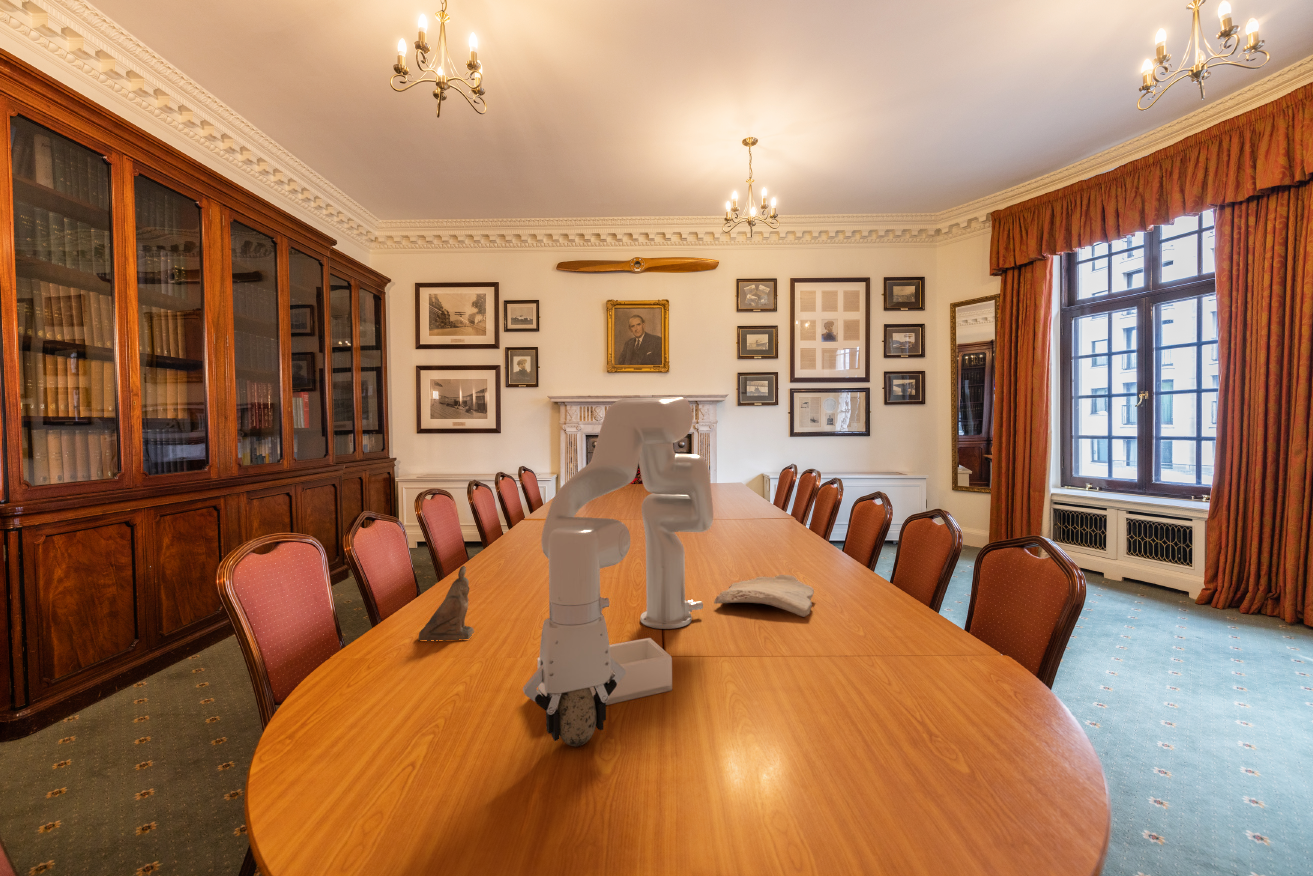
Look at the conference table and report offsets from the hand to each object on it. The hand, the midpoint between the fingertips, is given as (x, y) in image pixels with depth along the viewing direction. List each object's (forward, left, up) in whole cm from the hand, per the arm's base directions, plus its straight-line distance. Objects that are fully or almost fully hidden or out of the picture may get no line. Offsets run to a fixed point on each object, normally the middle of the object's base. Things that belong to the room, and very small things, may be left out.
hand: (576, 729), depth 80 cm
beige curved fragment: (-64, -42, -3) cm, 76 cm away
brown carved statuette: (+16, -54, -2) cm, 56 cm away
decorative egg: (0, 0, -2) cm, 2 cm away
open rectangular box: (-9, -14, -2) cm, 17 cm away
